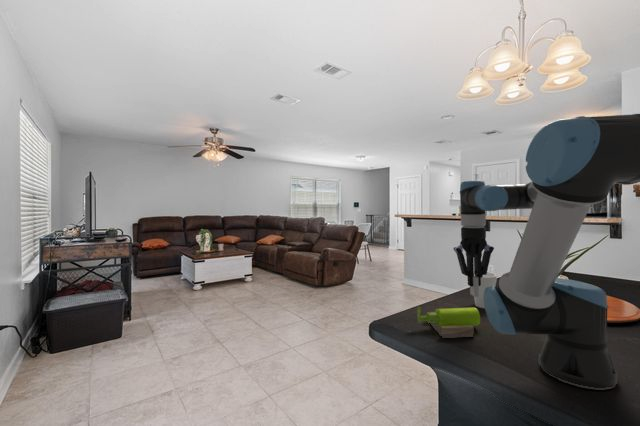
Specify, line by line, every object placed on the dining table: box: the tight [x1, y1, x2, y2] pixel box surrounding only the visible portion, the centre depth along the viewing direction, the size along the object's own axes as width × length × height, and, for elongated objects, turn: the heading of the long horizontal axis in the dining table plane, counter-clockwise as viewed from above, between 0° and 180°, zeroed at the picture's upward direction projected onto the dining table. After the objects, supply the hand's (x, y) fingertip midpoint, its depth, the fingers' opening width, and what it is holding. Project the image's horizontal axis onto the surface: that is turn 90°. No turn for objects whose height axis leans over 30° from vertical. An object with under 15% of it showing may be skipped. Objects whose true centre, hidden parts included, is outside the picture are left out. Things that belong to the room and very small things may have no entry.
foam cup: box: [473, 271, 498, 309], centre depth 125 cm, size 10×9×13 cm
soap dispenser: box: [416, 305, 481, 327], centre depth 105 cm, size 6×7×20 cm
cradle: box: [426, 311, 475, 335], centre depth 105 cm, size 14×10×4 cm
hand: (474, 295), depth 105 cm, fingers closed
